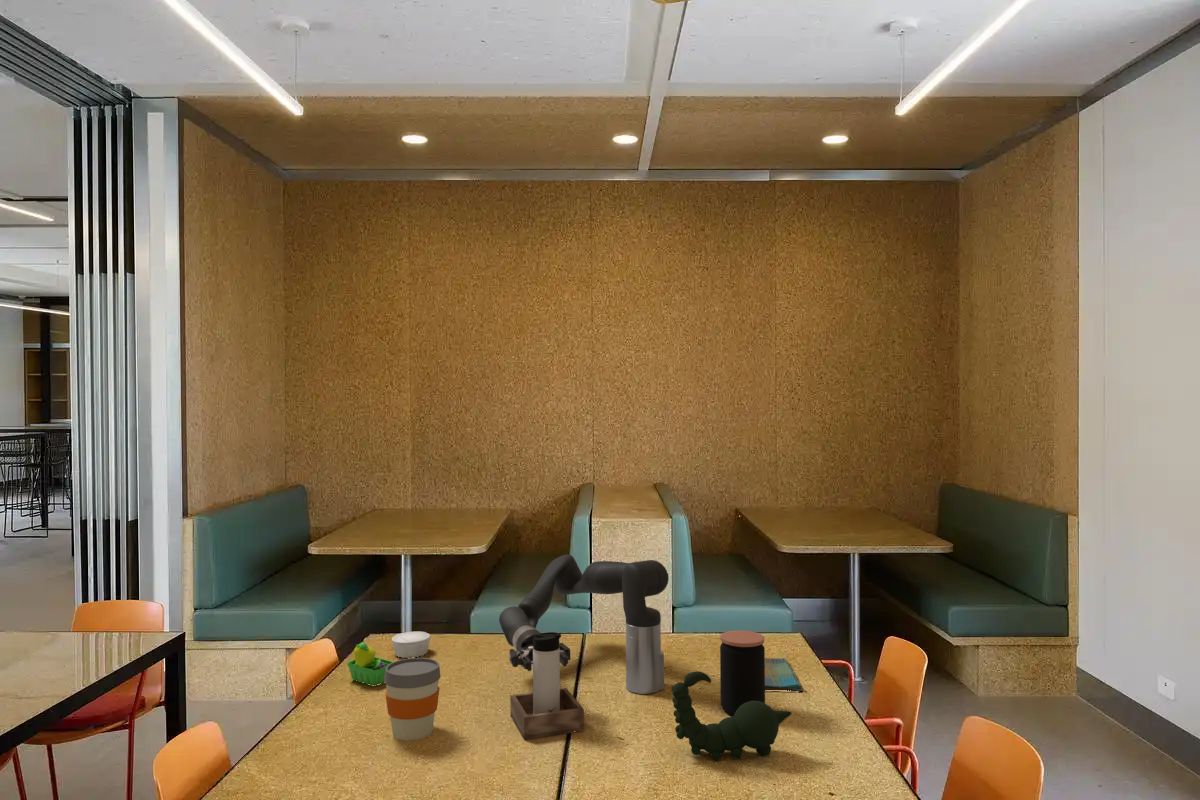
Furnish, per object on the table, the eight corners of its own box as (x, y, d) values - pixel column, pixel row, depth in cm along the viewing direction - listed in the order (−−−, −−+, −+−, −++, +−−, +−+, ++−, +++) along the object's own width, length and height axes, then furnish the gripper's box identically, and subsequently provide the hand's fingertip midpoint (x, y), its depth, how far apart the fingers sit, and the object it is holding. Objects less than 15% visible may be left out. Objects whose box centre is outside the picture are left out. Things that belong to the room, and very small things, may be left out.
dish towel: (736, 693, 200) (735, 684, 200) (726, 663, 223) (726, 654, 223) (803, 695, 199) (803, 685, 199) (787, 664, 222) (786, 655, 222)
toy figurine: (681, 773, 159) (801, 761, 159) (672, 682, 160) (792, 670, 160) (676, 752, 169) (789, 741, 169) (668, 666, 169) (781, 655, 169)
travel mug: (557, 725, 177) (557, 638, 177) (529, 723, 179) (529, 636, 179) (564, 714, 183) (563, 630, 183) (537, 712, 185) (537, 628, 185)
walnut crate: (566, 708, 190) (566, 687, 190) (584, 731, 176) (583, 709, 176) (510, 716, 185) (510, 695, 185) (524, 740, 172) (524, 717, 172)
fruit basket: (396, 680, 210) (396, 639, 210) (370, 691, 202) (370, 647, 202) (367, 673, 216) (367, 632, 216) (341, 682, 208) (341, 641, 208)
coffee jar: (769, 706, 190) (768, 633, 190) (759, 722, 181) (758, 645, 181) (727, 699, 195) (726, 628, 195) (715, 715, 185) (714, 640, 185)
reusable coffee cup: (391, 748, 168) (390, 679, 168) (379, 727, 179) (378, 662, 179) (447, 736, 174) (447, 670, 174) (432, 716, 185) (432, 654, 185)
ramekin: (384, 657, 229) (384, 639, 229) (406, 646, 239) (406, 629, 239) (415, 662, 225) (415, 644, 225) (437, 650, 235) (437, 633, 235)
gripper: (557, 655, 197) (576, 676, 182) (502, 662, 193) (518, 684, 177) (557, 626, 197) (576, 644, 182) (502, 632, 193) (517, 652, 177)
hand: (547, 664), depth 180 cm, fingers open, 8 cm apart
